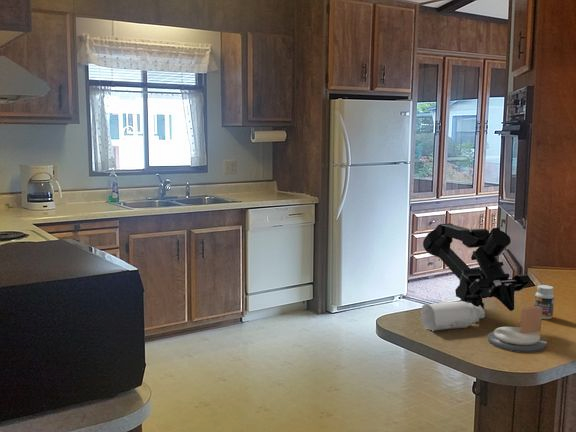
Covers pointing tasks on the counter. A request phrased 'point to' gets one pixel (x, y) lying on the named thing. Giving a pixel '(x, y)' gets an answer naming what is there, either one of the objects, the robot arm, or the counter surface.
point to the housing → (515, 347)
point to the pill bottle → (545, 300)
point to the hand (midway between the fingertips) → (512, 310)
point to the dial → (523, 328)
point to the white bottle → (450, 315)
